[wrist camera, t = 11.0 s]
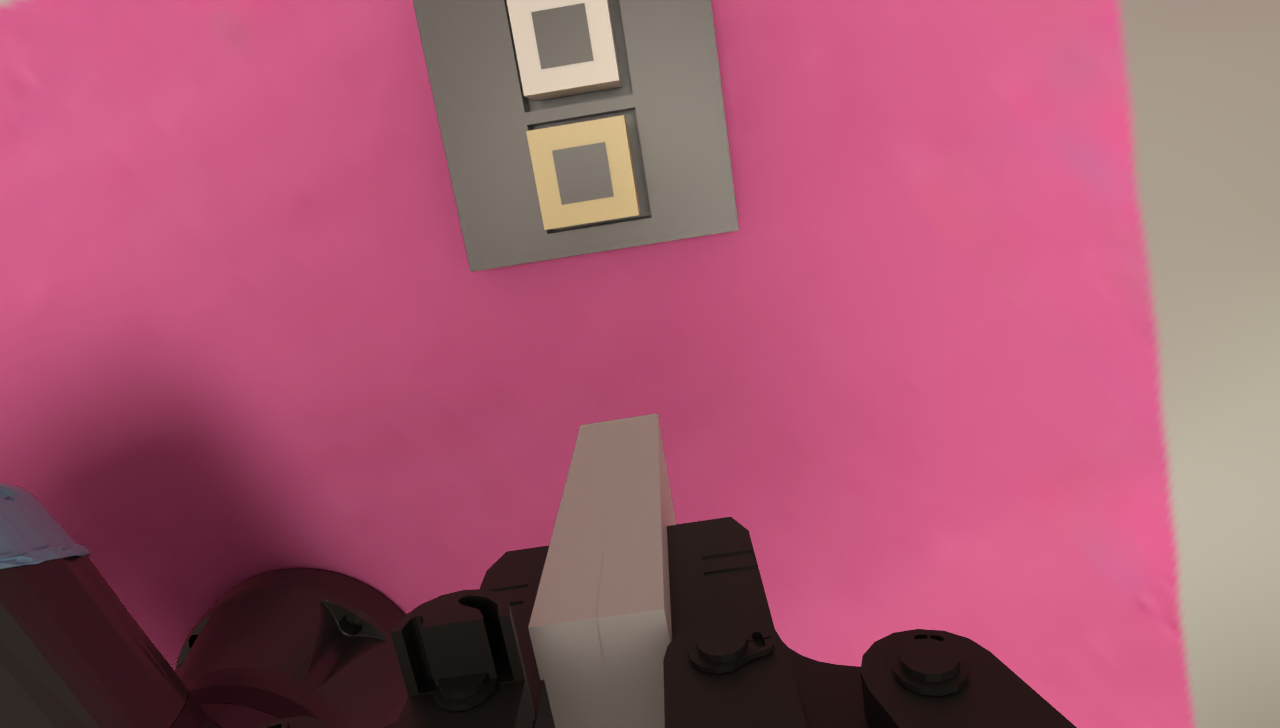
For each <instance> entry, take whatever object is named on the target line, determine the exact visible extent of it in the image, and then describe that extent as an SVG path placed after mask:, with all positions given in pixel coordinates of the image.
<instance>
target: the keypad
mask: <svg viewBox="0 0 1280 728" xmlns="http://www.w3.org/2000/svg"><path fill="white" fill-rule="evenodd" d="M413 4H414V9H415V14H416V18H417V23H418V28H419V32H420V37H421V42H422V46H423V51H424V56H425V60H426V65H427V70H428V74H429V79H430V84H431V89H432V93H433V98H434V103H435V107H436V112H437V117H438V121H439V126H440V131H441V135H442V140H443V145H444V149H445V154H446V159H447V163H448V168H449V173H450V177H451V182H452V187H453V191H454V196H455V201H456V205H457V210H458V215H459V220H460V224H461V229H462V234H463V238H464V243H465V248H466V252H467V257H468V262H469V266H470V271H471V272H473V271H479V270H486V269H492V268H499V267H505V266H512V265H518V264H525V263H531V262H537V261H544V260H550V259H557V258H563V257H570V256H576V255H583V254H589V253H595V252H602V251H608V250H615V249H621V248H628V247H634V246H641V245H647V244H653V243H660V242H666V241H673V240H679V239H686V238H692V237H699V236H705V235H711V234H718V233H724V232H731V231H737V230H739V227H738V219H737V211H736V202H735V194H734V186H733V178H732V169H731V161H730V153H729V145H728V136H727V128H726V120H725V112H724V103H723V95H722V87H721V79H720V70H719V62H718V54H717V46H716V37H715V29H714V21H713V12H712V4H711V0H609V5H610V12H611V18H612V25H613V31H614V38H615V44H616V51H617V57H618V64H619V71H620V77H621V84H622V87H618V88H612V89H606V90H600V91H594V92H588V93H582V94H576V95H570V96H564V97H558V98H552V99H546V100H540V101H533V100H531V99H529V98H527V97H525V96H524V92H523V87H522V82H521V76H520V71H519V65H518V60H517V54H516V49H515V44H514V38H513V33H512V27H511V22H510V17H509V11H508V6H507V0H413ZM621 115H624V116H625V118H626V121H627V127H628V134H629V140H630V147H631V154H632V160H633V167H634V173H635V180H636V186H637V193H638V199H639V206H640V213H639V215H637V216H630V217H624V218H618V219H611V220H605V221H599V222H592V223H586V224H580V225H573V226H567V227H561V228H554V229H548V230H544V225H543V219H542V214H541V209H540V203H539V198H538V193H537V187H536V182H535V176H534V171H533V166H532V160H531V155H530V150H529V144H528V139H527V133H526V131H530V130H536V129H542V128H548V127H555V126H561V125H567V124H573V123H579V122H585V121H591V120H597V119H603V118H609V117H615V116H621Z"/></svg>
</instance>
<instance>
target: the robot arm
mask: <svg viewBox="0 0 1280 728" xmlns="http://www.w3.org/2000/svg"><path fill="white" fill-rule="evenodd" d="M88 556H90V553H89V551H88V549H87V548H86V547H85V546H84V545H80V544H77V543H76V542H75V541H74V540H73V539H72V538H71V537H70V536H69V535H68V533H67V532H66V531H65V530H64V529H63V528H62V527H61V526H60V525H59V523H58V522H57V521H56V520H55V519H54V518H53V517H52V516H51V515H50V513H49V512H48V511H47V510H46V509H45V507H44V506H43V505H42V504H41V503H40V501H39V500H38V499H37V498H36V497H35V496H33V495H32V494H31V493H29V492H28V491H26V490H25V489H23V488H20V487H18V486H15V485H11V484H7V483H1V482H0V728H1076V727H1075V726H1074V725H1073V724H1072V723H1071V722H1070V721H1068V720H1067V719H1066V718H1065V717H1064V716H1063V715H1062V714H1060V713H1059V712H1058V711H1057V710H1056V709H1055V708H1054V707H1052V706H1051V705H1050V704H1049V703H1048V702H1047V701H1046V700H1044V699H1043V698H1042V697H1041V696H1040V695H1039V694H1038V693H1036V692H1035V691H1034V690H1033V689H1032V688H1031V687H1030V686H1028V685H1027V684H1026V683H1025V682H1024V681H1023V680H1022V679H1020V678H1019V677H1018V676H1017V675H1016V674H1015V673H1014V672H1012V671H1011V670H1010V669H1009V668H1008V667H1007V666H1006V665H1004V664H1003V663H1002V662H1001V661H1000V660H999V659H998V658H996V657H995V656H994V655H993V654H992V653H991V652H990V651H988V650H986V649H985V648H983V647H982V646H980V645H978V644H977V643H975V642H974V641H972V640H970V639H969V638H965V637H962V636H959V635H955V634H952V633H949V632H946V631H937V630H923V629H916V630H909V631H903V632H897V633H893V634H891V635H889V636H887V637H884V638H882V639H880V640H878V641H876V642H874V644H873V645H872V646H871V647H870V648H869V649H868V650H867V652H866V653H865V654H864V655H863V658H862V665H861V667H856V666H845V665H835V664H830V663H824V662H818V661H815V660H813V659H810V658H807V657H804V656H802V655H800V654H798V653H796V652H795V651H793V650H791V649H790V648H788V647H787V646H786V645H785V644H784V643H783V642H782V640H781V639H780V637H779V635H778V634H777V632H776V630H775V628H774V625H773V621H772V617H771V614H770V610H769V606H768V602H767V599H766V595H765V591H764V587H763V584H762V580H761V576H760V572H759V569H758V565H757V561H756V557H755V553H754V550H753V546H752V542H751V538H750V535H749V531H748V530H747V529H746V528H744V527H743V526H742V525H740V524H739V523H738V522H737V521H735V520H734V519H733V518H732V517H726V518H720V519H713V520H706V521H699V522H692V523H685V524H678V525H676V519H675V513H674V507H673V501H672V495H671V489H670V483H669V478H668V472H667V466H666V460H665V454H664V448H663V442H662V436H661V430H660V424H659V418H658V413H656V414H650V415H643V416H637V417H630V418H623V419H617V420H610V421H604V422H597V423H591V424H584V425H581V426H580V429H579V433H578V437H577V441H576V445H575V449H574V453H573V456H572V460H571V464H570V468H569V472H568V476H567V480H566V484H565V487H564V491H563V495H562V499H561V503H560V507H559V511H558V514H557V518H556V522H555V526H554V530H553V534H552V538H551V542H550V545H549V546H543V547H536V548H529V549H522V550H515V551H508V552H506V553H505V554H504V555H503V556H502V557H501V558H500V559H499V560H498V561H497V562H496V563H495V564H493V565H492V566H491V567H490V568H489V569H488V570H487V572H486V574H485V577H484V579H483V582H482V584H481V587H480V590H463V591H458V592H454V593H450V594H446V595H442V596H440V597H437V598H435V599H433V600H431V601H428V602H426V603H424V604H421V605H420V606H418V607H417V608H415V609H414V610H412V611H411V612H410V613H408V614H407V615H404V614H403V613H402V612H401V611H400V610H399V609H398V608H397V607H396V606H395V605H394V604H393V603H392V602H390V601H389V600H388V599H387V598H386V597H384V596H383V595H381V594H380V593H379V592H377V591H375V590H374V589H372V588H370V587H369V586H367V585H365V584H363V583H361V582H359V581H356V580H354V579H352V578H349V577H346V576H343V575H340V574H337V573H333V572H329V571H323V570H317V569H305V568H293V569H281V570H276V571H271V572H267V573H263V574H260V575H257V576H254V577H252V578H250V579H247V580H245V581H243V582H242V583H240V584H238V585H237V586H235V587H233V588H232V589H231V590H229V591H228V592H227V593H226V594H225V595H223V596H222V597H221V598H220V599H219V600H218V601H217V602H216V603H215V604H214V605H213V606H212V607H211V608H210V609H209V611H208V612H207V613H206V614H205V615H204V616H203V617H202V618H201V619H200V620H199V621H198V622H197V624H196V625H195V626H194V628H193V629H192V631H191V632H190V634H189V635H188V637H187V639H186V641H185V643H184V645H183V648H182V650H181V652H180V655H179V658H178V661H177V666H176V669H175V671H174V670H173V669H172V667H171V666H170V665H169V664H168V662H167V661H166V660H165V658H164V657H163V656H162V654H161V653H160V652H159V651H158V649H157V648H156V647H155V645H154V644H153V643H152V642H151V640H150V639H149V638H148V636H147V635H146V634H145V633H144V631H143V630H142V629H141V627H140V626H139V625H138V624H137V622H136V621H135V620H134V618H133V617H132V616H131V615H130V613H129V612H128V611H127V609H126V608H125V607H124V605H123V604H122V602H121V601H120V600H119V598H118V597H117V596H116V594H115V593H114V592H113V590H112V589H111V588H110V586H109V585H108V583H107V582H106V581H105V579H104V578H103V577H102V575H101V574H100V573H99V571H98V570H97V569H96V567H95V566H94V565H93V563H92V562H91V560H90V559H89V558H88Z"/></svg>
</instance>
